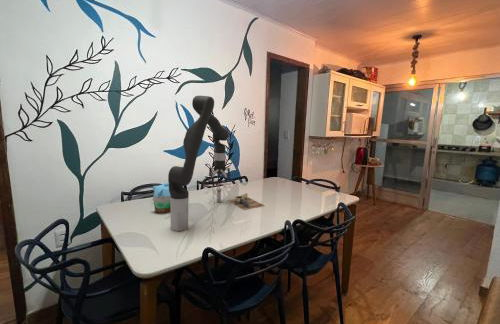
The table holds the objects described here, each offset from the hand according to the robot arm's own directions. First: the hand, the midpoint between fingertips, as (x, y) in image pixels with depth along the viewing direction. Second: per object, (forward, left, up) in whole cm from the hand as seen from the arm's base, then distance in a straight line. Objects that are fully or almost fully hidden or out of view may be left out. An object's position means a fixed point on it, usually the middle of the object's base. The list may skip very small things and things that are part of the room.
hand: (219, 182), depth 170 cm
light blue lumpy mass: (+23, +28, -16) cm, 40 cm away
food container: (+4, +38, -16) cm, 41 cm away
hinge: (-11, -15, -15) cm, 24 cm away
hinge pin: (0, 0, -16) cm, 16 cm away
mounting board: (-11, -16, -16) cm, 25 cm away
